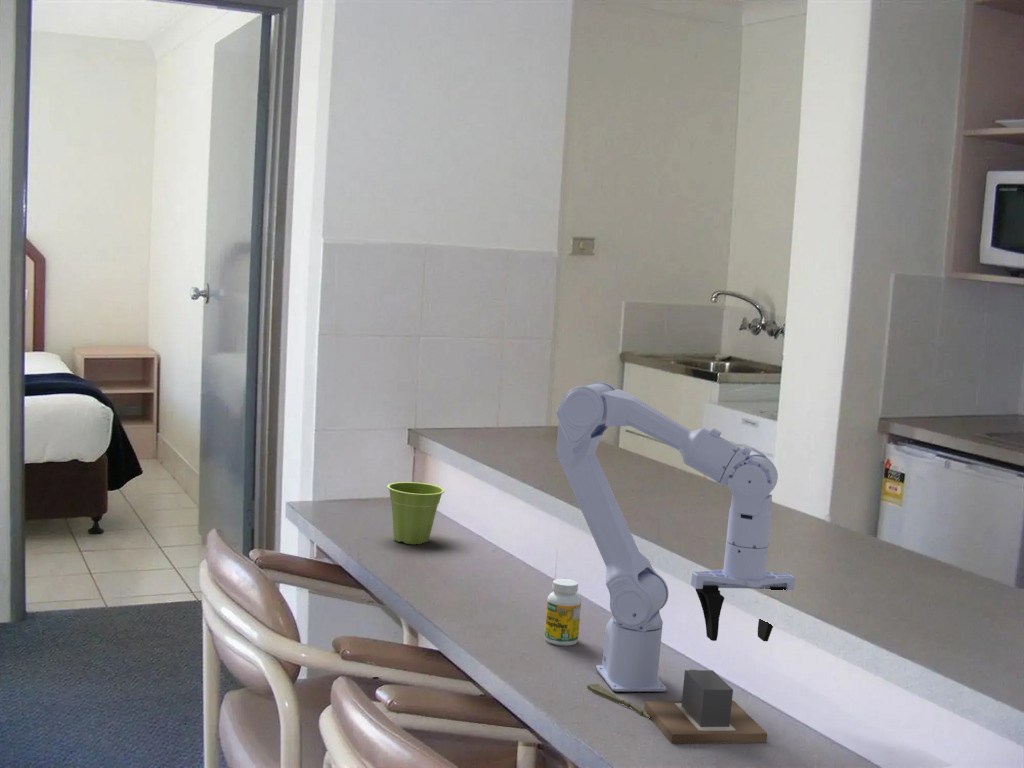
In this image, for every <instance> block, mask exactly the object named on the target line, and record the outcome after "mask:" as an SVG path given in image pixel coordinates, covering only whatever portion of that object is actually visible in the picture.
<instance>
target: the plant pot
mask: <svg viewBox="0 0 1024 768" xmlns="http://www.w3.org/2000/svg"><path fill="white" fill-rule="evenodd" d="M386 488H387V489H388V490H389V496H390V497H389V498H390V501H391V512H392V514H391V515H392V526H393V528H392V529H393V540H395V541H396V542H398V543H400V542H403V543H404V544H407V545H416V544H418V545H423V544H425V543H428V542H429V541H430V538H431V537H430V536H431V534H432V529H433V526H434V521H435V517H436V513H437V509H438V506H439V504H440V501H441V497H442V494H444V493H445V489H444V488H442V487H440V486H439V485H435V484H430V483H425V482H414V481H399V482H397V481H396V482H392V483H389V484H387V486H386ZM422 543H423V544H422Z"/></svg>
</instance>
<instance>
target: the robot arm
mask: <svg viewBox="0 0 1024 768" xmlns="http://www.w3.org/2000/svg"><path fill="white" fill-rule="evenodd" d="M555 414H556V418H557V421H558V424H557V439H556V455H557V459H558V461H559V464H560V466H561V468H562V470H563V473H564V474H565V477H566V479H567V482H568V484H569V486H570V489H571V490H572V493H573V495H574V498H575V499H576V502H577V504H578V507H579V508H580V510H581V513H582V514H583V518H584V519H585V522H586V524H587V526H588V528H589V531H590V533H591V536H592V538H593V539H594V542H595V544H596V547H597V549H598V551H599V554H600V555H601V559H602V560H603V563H604V565H605V567H606V568H605V586H606V587H607V590H608V592H609V608H610V612H611V614H612V617H611V618H610V619H609V621H608V622H607V623H606V626H605V632H604V640H603V641H604V642H603V650H602V651H603V652H602V662H601V663H602V664H597V665H595V669H596V671H597V672H598V673H599V674H600V676H601V677H602V679H604V681H605V682H606V683H607V685H608V686H609V688H611V690H612V691H613V692H666V691H667V689H668V688H667V686H665V685H664V683H662V681H661V680H660V679H659V678H658V676H659V665H660V656H661V655H660V654H661V647H662V646H661V643H662V634H663V624H664V621H663V619H662V617H661V613H660V610H662V609H663V608H664V607H665V605H666V604H667V602H668V599H669V593H670V592H669V587H668V585H667V582H666V581H665V579H664V578H663V577H662V576H661V575H660V574H659V573H658V572H657V571H656V570H655V569H654V568H653V566H652V564H651V561H650V560H649V559H648V558H647V557H646V556H645V555H644V554H643V553H641V551H640V550H639V548H638V546H637V544H636V540H635V539H634V537H633V535H632V533H631V531H630V530H631V529H630V528H629V527H628V526H629V525H628V523H627V521H626V519H625V517H624V515H623V511H622V510H621V507H620V506H619V504H618V501H617V500H616V497H615V495H614V492H613V490H612V488H611V485H610V483H609V481H608V479H607V476H606V475H605V473H604V470H603V468H602V465H601V463H600V461H599V458H598V457H597V454H596V451H597V448H598V446H599V444H600V442H601V439H602V437H603V435H604V432H605V431H606V430H607V429H608V428H611V427H632V428H634V429H636V430H638V431H639V432H641V433H643V434H646V435H647V436H649V437H651V438H653V439H656V440H658V441H659V442H661V443H663V444H665V445H667V446H669V447H672V448H673V449H676V450H677V451H679V453H680V455H681V458H682V462H683V463H684V464H685V465H687V466H688V467H690V468H691V469H694V470H695V471H697V472H699V473H700V474H703V475H704V476H706V477H708V478H709V479H711V480H713V481H714V482H717V483H719V484H720V485H722V486H728V489H729V492H731V493H730V494H731V500H730V501H731V503H730V508H729V511H728V518H727V519H728V521H727V531H726V539H725V540H726V541H725V548H724V549H725V550H724V551H725V552H724V559H723V561H724V562H723V569H712V570H704V571H703V570H702V571H701V570H700V571H695V570H694V571H691V582H690V585H691V586H692V587H693V588H694V590H695V591H696V594H697V597H698V600H699V602H700V605H701V608H702V614H703V617H704V623H705V633H706V637H707V638H708V639H709V640H710V641H712V642H715V641H716V642H717V639H718V637H719V628H720V627H719V626H720V623H719V622H720V616H721V612H722V608H723V604H724V602H725V597H724V596H723V595H722V594H721V590H719V589H757V590H759V589H764V588H765V589H771V590H783V589H784V590H786V589H787V590H794V591H795V585H796V584H795V582H796V577H795V576H793V575H791V574H790V573H781V572H770V571H766V570H767V561H768V553H769V552H768V551H769V550H768V549H769V540H770V531H771V521H772V511H771V510H772V507H773V494H771V492H773V491H774V489H775V487H776V486H777V483H778V477H779V476H778V470H777V468H776V466H775V464H774V463H773V462H772V461H771V460H770V459H768V458H767V457H766V455H764V454H761V453H760V454H759V453H753V454H751V452H752V449H750V448H748V447H747V446H744V447H743V448H742V447H740V446H738V445H736V444H734V443H733V442H731V441H729V440H728V439H725V438H723V437H722V436H721V435H722V432H721V431H720V430H718V429H716V428H712V429H710V430H709V429H707V428H704V427H703V428H699V429H696V430H690V429H689V428H687V427H686V426H684V425H682V424H680V423H679V422H677V421H675V420H674V419H672V418H670V417H669V416H667V415H665V414H664V413H662V412H660V411H659V410H658V409H656V408H654V407H652V406H650V405H649V404H647V403H646V402H644V401H643V400H641V399H639V398H637V397H636V396H634V395H632V394H630V393H629V392H628V391H626V390H624V389H623V390H622V389H619V388H617V389H616V388H615V387H614V386H613V385H612V384H610V383H607V382H602V381H601V382H600V381H599V382H594V383H592V384H588V385H580V386H579V385H578V386H576V387H575V386H574V387H573V388H571V389H570V390H568V391H567V392H566V394H565V395H564V397H563V399H562V400H561V402H560V404H559V406H558V408H557V410H556V413H555ZM787 590H786V591H787ZM773 629H774V626H772V625H771V624H769V623H768V622H765V621H763V620H761V619H759V618H758V622H757V638H759V639H760V640H762V641H763V642H768V641H769V639H770V636H771V634H772V631H773Z"/></svg>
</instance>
